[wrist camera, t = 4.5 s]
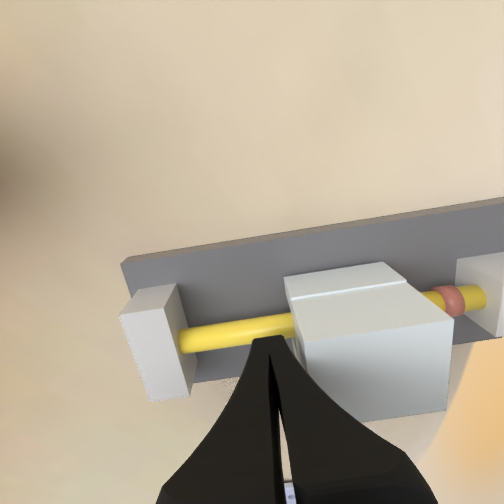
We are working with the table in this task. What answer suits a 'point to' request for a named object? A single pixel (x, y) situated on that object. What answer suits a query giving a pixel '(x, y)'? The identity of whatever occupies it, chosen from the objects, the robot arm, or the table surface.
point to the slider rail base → (294, 263)
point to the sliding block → (371, 341)
